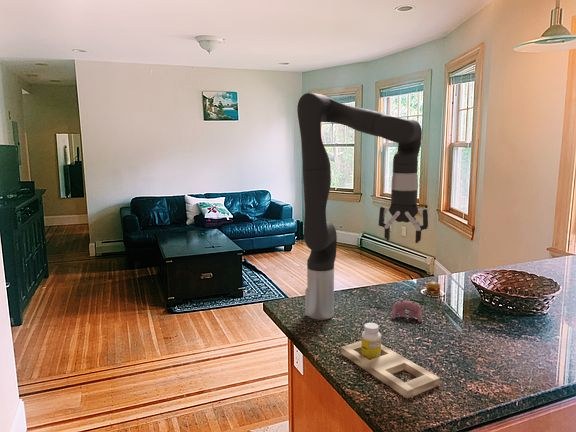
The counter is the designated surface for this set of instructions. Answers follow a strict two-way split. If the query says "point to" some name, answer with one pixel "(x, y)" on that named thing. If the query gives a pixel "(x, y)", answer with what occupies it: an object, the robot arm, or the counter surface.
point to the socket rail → (392, 370)
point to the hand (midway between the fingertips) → (402, 241)
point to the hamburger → (433, 289)
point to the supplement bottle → (371, 341)
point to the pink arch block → (408, 305)
